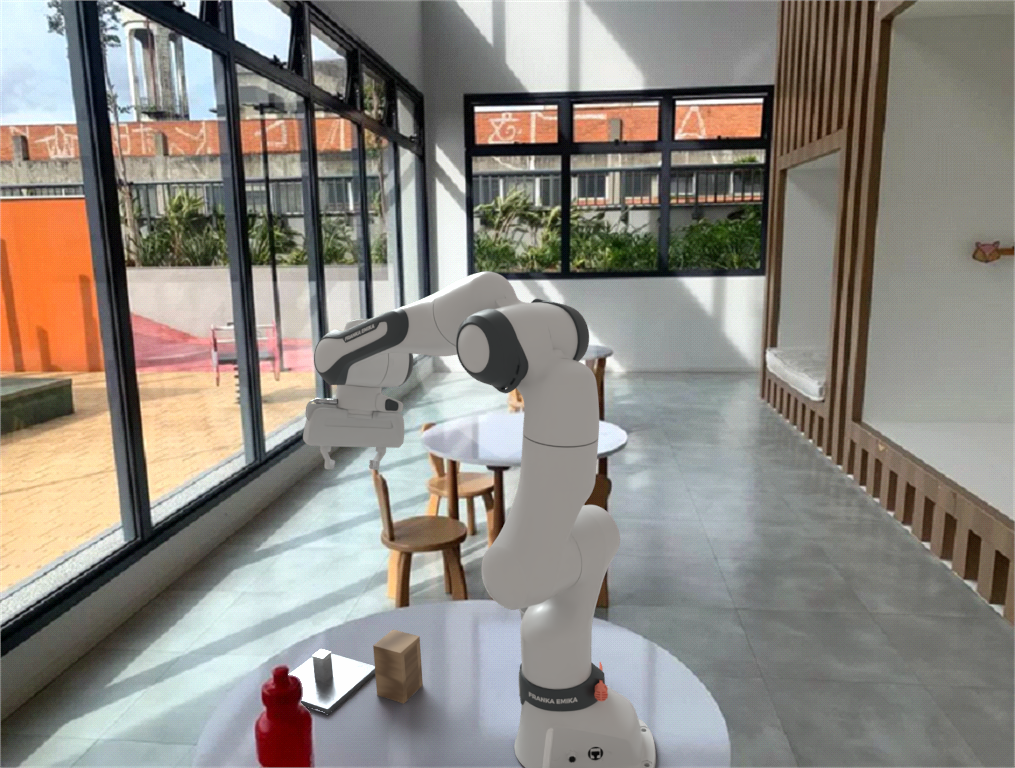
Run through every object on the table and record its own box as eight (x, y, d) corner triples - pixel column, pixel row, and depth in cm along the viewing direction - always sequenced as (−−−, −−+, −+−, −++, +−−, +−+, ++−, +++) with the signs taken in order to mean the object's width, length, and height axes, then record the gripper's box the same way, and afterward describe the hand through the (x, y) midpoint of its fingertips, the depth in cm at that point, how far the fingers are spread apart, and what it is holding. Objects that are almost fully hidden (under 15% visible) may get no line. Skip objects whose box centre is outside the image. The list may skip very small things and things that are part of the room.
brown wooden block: (422, 685, 133) (419, 636, 131) (404, 703, 128) (400, 653, 126) (396, 677, 136) (392, 629, 134) (377, 695, 131) (373, 645, 129)
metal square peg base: (377, 672, 138) (374, 643, 136) (328, 715, 125) (325, 683, 124) (321, 655, 144) (318, 627, 143) (269, 694, 132) (266, 664, 131)
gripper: (312, 398, 134) (306, 471, 134) (410, 404, 145) (404, 471, 146) (301, 396, 139) (295, 466, 139) (397, 401, 151) (391, 466, 151)
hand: (352, 469), depth 143 cm, fingers open, 8 cm apart
